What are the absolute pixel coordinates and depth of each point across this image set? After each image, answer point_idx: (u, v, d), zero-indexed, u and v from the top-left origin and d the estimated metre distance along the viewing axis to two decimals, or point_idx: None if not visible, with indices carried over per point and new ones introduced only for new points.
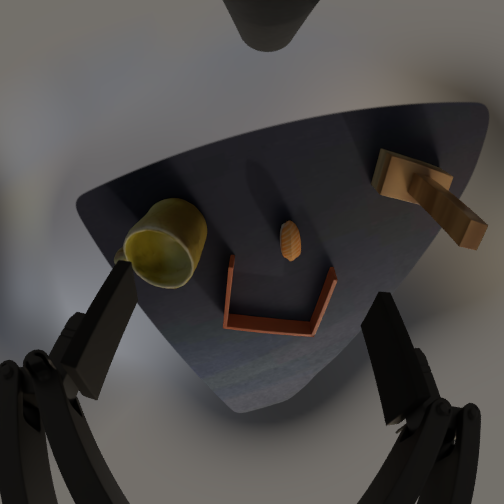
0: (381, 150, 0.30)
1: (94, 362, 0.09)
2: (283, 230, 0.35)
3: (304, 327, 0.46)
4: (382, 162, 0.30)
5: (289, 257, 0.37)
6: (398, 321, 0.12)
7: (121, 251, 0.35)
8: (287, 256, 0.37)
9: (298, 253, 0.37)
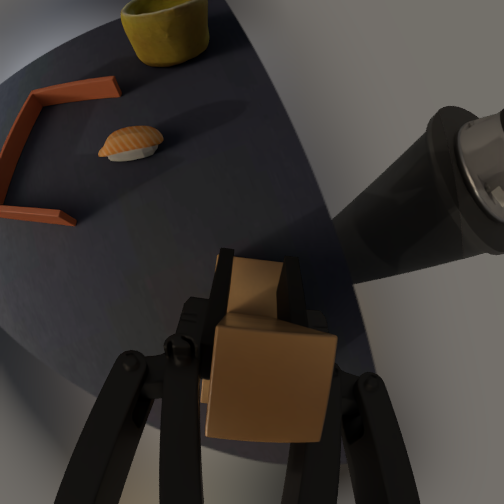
0: None
1: None
2: (151, 127, 0.21)
3: None
4: None
5: (109, 138, 0.21)
6: (296, 281, 0.14)
7: None
8: (111, 135, 0.21)
9: (112, 149, 0.20)
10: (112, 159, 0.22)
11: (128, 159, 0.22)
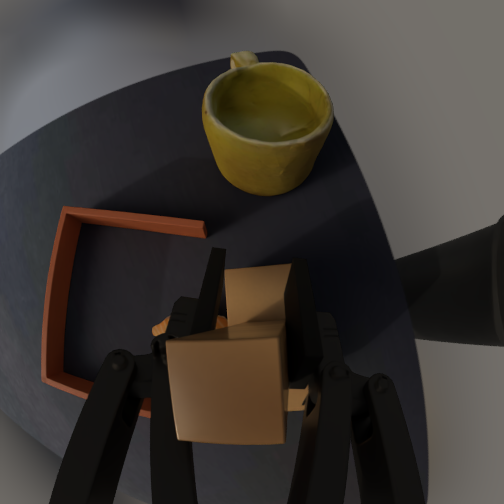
0: None
1: None
2: (221, 319, 0.20)
3: (54, 363, 0.18)
4: None
5: None
6: (305, 283, 0.14)
7: None
8: None
9: None
10: None
11: None
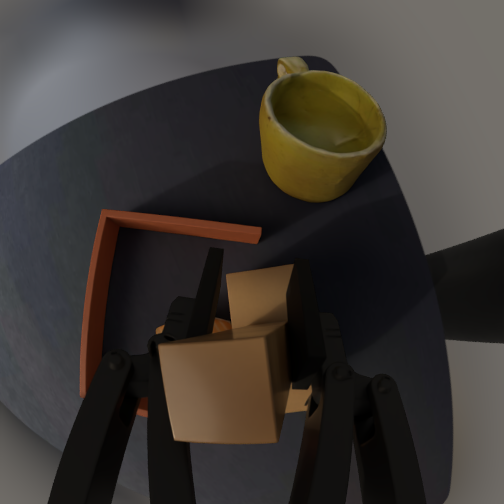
0: None
1: None
2: (226, 323, 0.20)
3: (93, 376, 0.19)
4: None
5: None
6: (308, 284, 0.14)
7: None
8: None
9: None
10: None
11: None
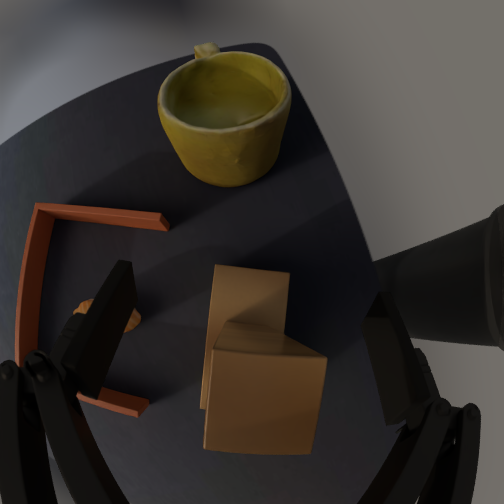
0: None
1: (94, 362, 0.09)
2: None
3: None
4: None
5: (80, 311, 0.18)
6: (398, 321, 0.12)
7: None
8: (82, 308, 0.18)
9: None
10: None
11: None
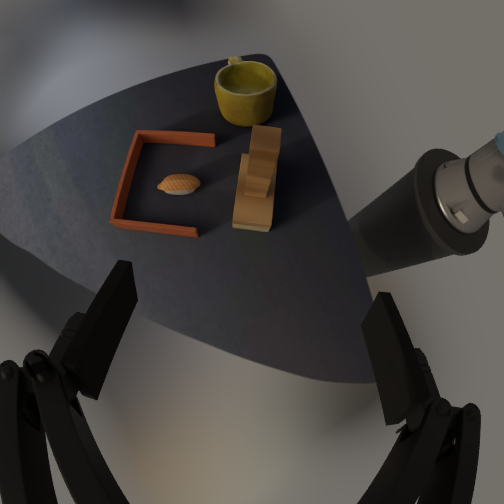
0: None
1: (94, 362, 0.09)
2: (193, 176, 0.38)
3: (119, 214, 0.37)
4: None
5: (166, 179, 0.37)
6: (398, 321, 0.12)
7: None
8: (167, 178, 0.38)
9: (169, 187, 0.37)
10: (167, 192, 0.39)
11: (177, 194, 0.39)
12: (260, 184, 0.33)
